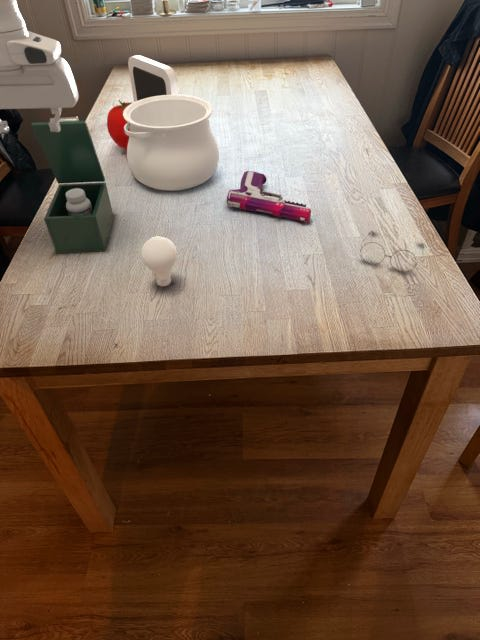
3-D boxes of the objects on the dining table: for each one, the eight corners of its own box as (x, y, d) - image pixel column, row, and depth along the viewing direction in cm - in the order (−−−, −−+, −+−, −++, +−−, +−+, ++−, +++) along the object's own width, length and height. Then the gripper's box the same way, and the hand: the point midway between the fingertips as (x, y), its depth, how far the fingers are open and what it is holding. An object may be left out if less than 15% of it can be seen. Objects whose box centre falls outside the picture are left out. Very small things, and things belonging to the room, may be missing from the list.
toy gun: (322, 196, 114) (306, 228, 105) (244, 181, 120) (222, 210, 110) (324, 183, 112) (307, 214, 102) (244, 168, 117) (221, 196, 108)
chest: (105, 251, 99) (95, 216, 93) (56, 253, 99) (43, 218, 92) (113, 215, 109) (105, 182, 103) (69, 217, 109) (58, 184, 103)
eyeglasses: (369, 233, 103) (373, 213, 99) (425, 246, 99) (432, 227, 95) (355, 260, 96) (359, 240, 92) (415, 276, 92) (422, 256, 88)
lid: (85, 123, 89) (87, 107, 92) (31, 125, 89) (34, 109, 91) (105, 181, 103) (106, 166, 105) (58, 183, 102) (60, 168, 105)
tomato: (154, 154, 133) (147, 107, 124) (112, 158, 131) (102, 111, 122) (152, 138, 141) (145, 93, 132) (112, 142, 139) (102, 97, 130)
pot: (169, 206, 112) (160, 139, 100) (111, 175, 124) (96, 112, 112) (239, 170, 125) (238, 107, 113) (180, 145, 137) (174, 86, 125)
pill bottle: (75, 225, 105) (64, 187, 98) (99, 223, 106) (88, 185, 99) (72, 238, 101) (60, 199, 95) (96, 236, 102) (85, 198, 95)
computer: (168, 71, 118) (176, 69, 119) (125, 54, 130) (133, 52, 131) (176, 152, 133) (184, 150, 135) (138, 131, 145) (145, 128, 147)
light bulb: (180, 273, 93) (174, 228, 86) (181, 294, 89) (175, 248, 81) (148, 276, 93) (139, 230, 85) (147, 297, 88) (138, 251, 80)
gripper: (-70, 54, 71) (-33, 140, 81) (61, 52, 73) (82, 137, 82) (-55, 43, 76) (-22, 126, 86) (69, 41, 77) (87, 124, 87)
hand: (30, 131), depth 84 cm, fingers open, 8 cm apart
